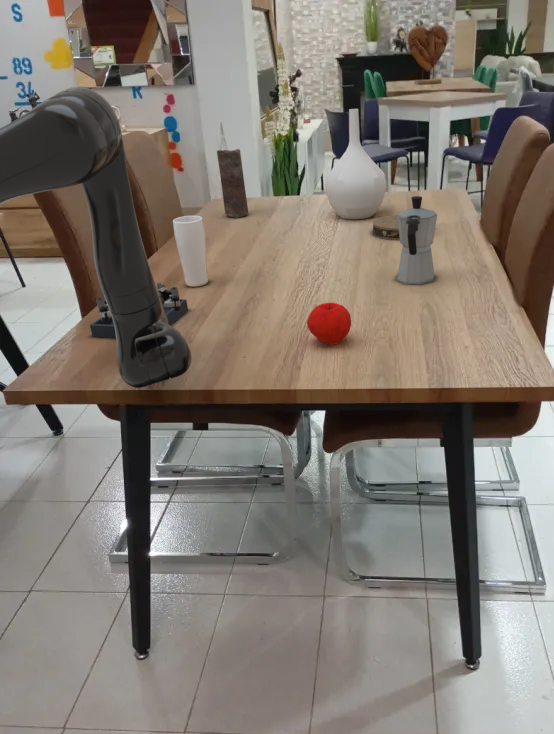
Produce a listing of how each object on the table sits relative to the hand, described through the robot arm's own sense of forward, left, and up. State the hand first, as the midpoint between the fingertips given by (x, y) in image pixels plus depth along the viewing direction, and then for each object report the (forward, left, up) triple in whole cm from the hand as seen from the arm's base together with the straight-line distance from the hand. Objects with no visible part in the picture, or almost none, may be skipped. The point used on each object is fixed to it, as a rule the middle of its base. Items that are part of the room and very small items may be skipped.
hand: (136, 291), depth 128 cm
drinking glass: (+34, +4, -10) cm, 35 cm away
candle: (+100, +20, -10) cm, 102 cm away
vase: (+101, -19, -10) cm, 103 cm away
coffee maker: (+42, -46, -10) cm, 63 cm away
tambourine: (+83, -36, -10) cm, 90 cm away
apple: (+5, -36, -10) cm, 37 cm away
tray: (+9, +5, -10) cm, 14 cm away
